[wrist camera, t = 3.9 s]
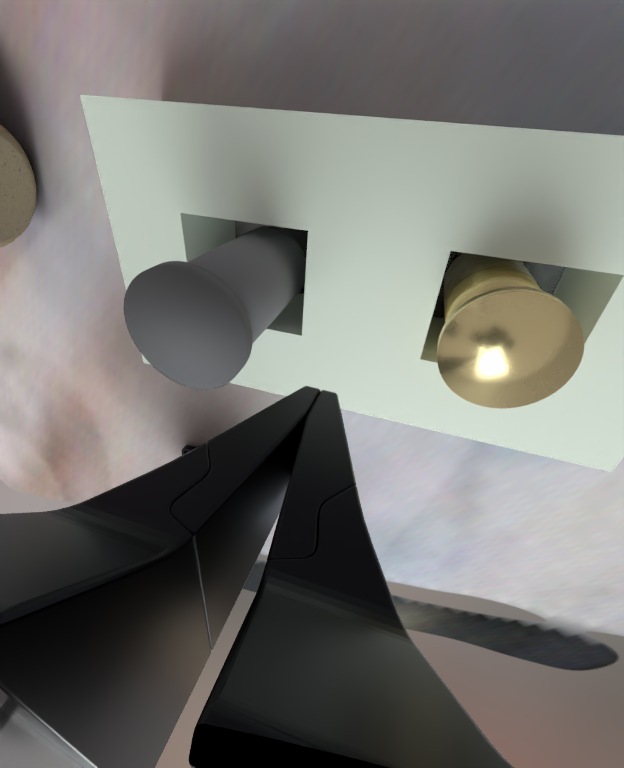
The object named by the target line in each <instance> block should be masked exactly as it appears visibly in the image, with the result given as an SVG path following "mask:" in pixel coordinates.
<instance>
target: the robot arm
mask: <svg viewBox="0 0 624 768" xmlns="http://www.w3.org/2000/svg"><path fill="white" fill-rule="evenodd" d="M279 513H280V514H279ZM278 515H279V518H278V522H277V525H276V529H275V533H274V536H273V540H272V544H271V547H270V551H269V555H268V558H267V563H266V566H265V569H264V573H263V576H262V579H261V582H260V585H259V588H258V591H257V593H256V596H255V598H254V600H253V602H252V604H251V606H250V609H249V611H248V613H247V615H246V618H245V620H244V622H243V624H242V626H241V628H240V630H239V632H238V635H237V637H236V639H235V641H234V643H233V645H232V648H231V650H230V652H229V654H228V656H227V659H226V661H225V663H224V666H223V668H222V669H221V672H220V674H219V676H218V678H217V680H216V683H215V685H214V687H213V689H212V691H211V693H210V696H209V698H208V700H207V702H206V704H205V706H204V709H203V711H202V713H201V715H200V718H199V720H198V722H197V724H196V727H195V730H194V733H193V738H192V744H191V749H190V754H189V763H190V765H191V768H514V767H513V766H512V765H510V763H508V762H507V761H506V760H505V759H504V758H503V757H502V755H501V754H500V753H499V752H498V751H497V750H496V748H495V747H494V746H493V745H492V744H491V743H490V741H489V740H488V739H487V738H486V736H485V735H484V734H483V732H482V731H481V730H480V728H479V727H478V726H477V725H476V724H475V722H474V721H473V719H472V718H471V717H470V715H469V714H468V713H467V712H466V710H465V709H464V708H463V707H462V705H461V704H460V702H459V701H458V700H457V699H456V697H455V696H454V695H453V693H452V692H451V691H450V689H449V688H448V687H447V686H446V684H445V683H444V682H443V680H442V679H441V678H440V676H439V675H438V674H437V673H436V671H435V670H434V669H433V667H432V666H431V665H430V663H429V662H428V661H427V660H426V658H425V657H424V656H423V654H422V653H421V652H420V650H419V649H418V648H417V647H416V645H415V644H414V642H413V641H412V639H411V638H410V636H409V634H408V633H407V631H406V629H405V627H404V625H403V623H402V621H401V618H400V616H399V614H398V612H397V609H396V606H395V604H394V601H393V599H392V596H391V593H390V591H389V588H388V585H387V583H386V580H385V577H384V574H383V571H382V569H381V566H380V563H379V561H378V558H377V555H376V552H375V550H374V547H373V544H372V541H371V538H370V535H369V532H368V529H367V526H366V523H365V520H364V516H363V512H362V508H361V504H360V500H359V495H358V490H357V487H356V482H355V477H354V472H353V467H352V462H351V457H350V453H349V448H348V443H347V438H346V433H345V428H344V424H343V419H342V414H341V409H340V404H339V399H338V395H337V394H336V393H334V392H330V391H326V390H322V391H320V389H318V388H314V387H310V386H304V387H302V388H301V389H299V390H297V391H295V392H294V393H292V394H290V395H288V396H287V397H285V398H283V399H281V400H280V401H278V402H276V403H274V404H272V405H271V406H269V407H267V408H265V409H264V410H262V411H260V412H258V413H257V414H255V415H253V416H251V417H250V418H248V419H246V420H244V421H243V422H241V423H239V424H237V425H236V426H234V427H232V428H230V429H229V430H227V431H225V432H223V433H222V434H220V435H218V436H216V437H215V438H213V439H211V440H209V441H208V442H207V443H204V444H202V445H200V446H199V447H197V448H195V447H191V446H187V445H186V446H185V447H184V448H183V449H182V456H180V457H179V458H177V459H175V460H173V461H171V462H169V463H167V464H165V465H163V466H161V467H159V468H156V469H154V470H152V471H150V472H148V473H146V474H144V475H142V476H139V477H137V478H135V479H133V480H131V481H128V482H126V483H124V484H122V485H120V486H117V487H115V488H113V489H111V490H109V491H106V492H104V493H102V494H100V495H98V496H95V497H93V498H91V499H89V500H86V501H84V502H81V503H79V504H76V505H73V506H70V507H66V508H62V509H58V510H53V511H46V512H32V513H12V514H0V768H155V766H156V764H157V762H158V760H159V758H160V756H161V754H162V752H163V750H164V748H165V746H166V744H167V742H168V739H169V738H170V736H171V733H172V731H173V729H174V727H175V725H176V723H177V721H178V719H179V717H180V715H181V713H182V711H183V709H184V707H185V705H186V703H187V701H188V699H189V696H190V695H191V692H192V691H193V689H194V687H195V684H196V682H197V680H198V678H199V676H200V674H201V672H202V670H203V668H204V666H205V664H206V662H207V660H208V658H209V656H210V654H211V650H212V649H213V647H214V645H215V643H216V641H217V639H218V637H219V635H220V633H221V631H222V629H223V627H224V625H225V623H226V621H227V619H228V617H229V615H230V613H231V611H232V609H233V607H234V605H235V602H236V600H237V598H238V596H239V594H240V592H241V590H242V588H243V586H244V584H245V582H246V580H247V578H248V576H249V574H250V572H251V570H252V568H253V566H254V564H255V562H256V560H257V558H258V555H259V554H260V552H261V549H262V547H263V545H264V543H265V541H266V539H267V537H268V535H269V533H270V531H271V529H272V527H273V525H274V523H275V521H276V519H277V517H278Z"/></svg>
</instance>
